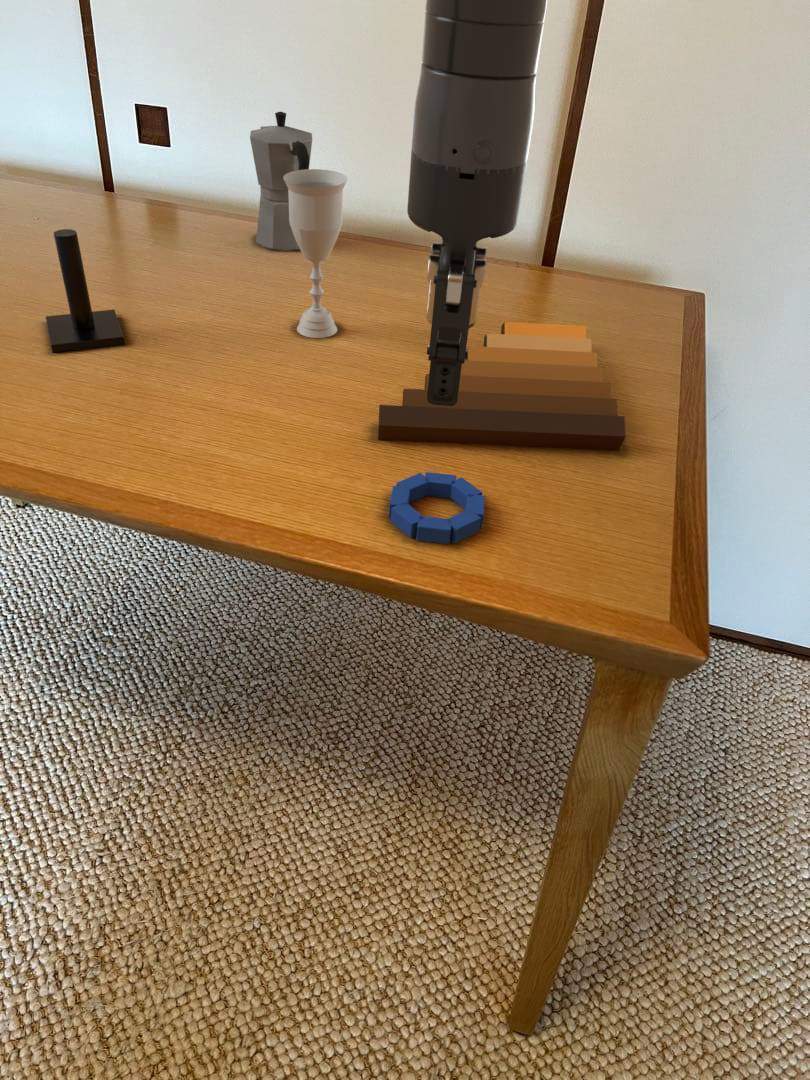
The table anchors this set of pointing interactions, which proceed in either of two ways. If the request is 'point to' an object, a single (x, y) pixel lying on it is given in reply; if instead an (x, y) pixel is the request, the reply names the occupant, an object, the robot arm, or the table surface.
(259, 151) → the coffeepot
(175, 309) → the table surface
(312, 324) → the chalice
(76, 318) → the black peg stand
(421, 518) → the ring
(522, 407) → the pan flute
